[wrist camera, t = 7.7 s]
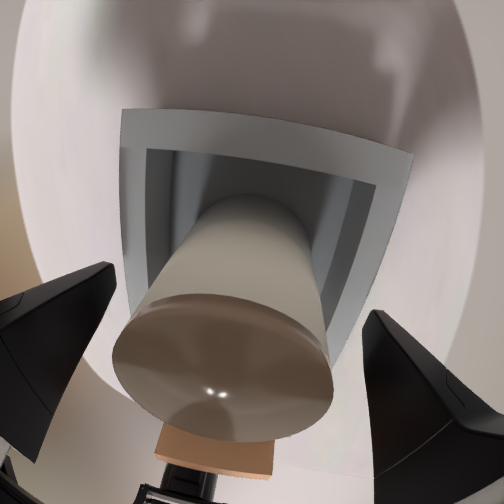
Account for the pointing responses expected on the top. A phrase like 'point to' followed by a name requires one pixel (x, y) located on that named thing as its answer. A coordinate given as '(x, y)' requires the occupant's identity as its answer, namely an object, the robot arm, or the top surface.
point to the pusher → (215, 454)
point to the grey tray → (265, 184)
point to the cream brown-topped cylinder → (232, 329)
